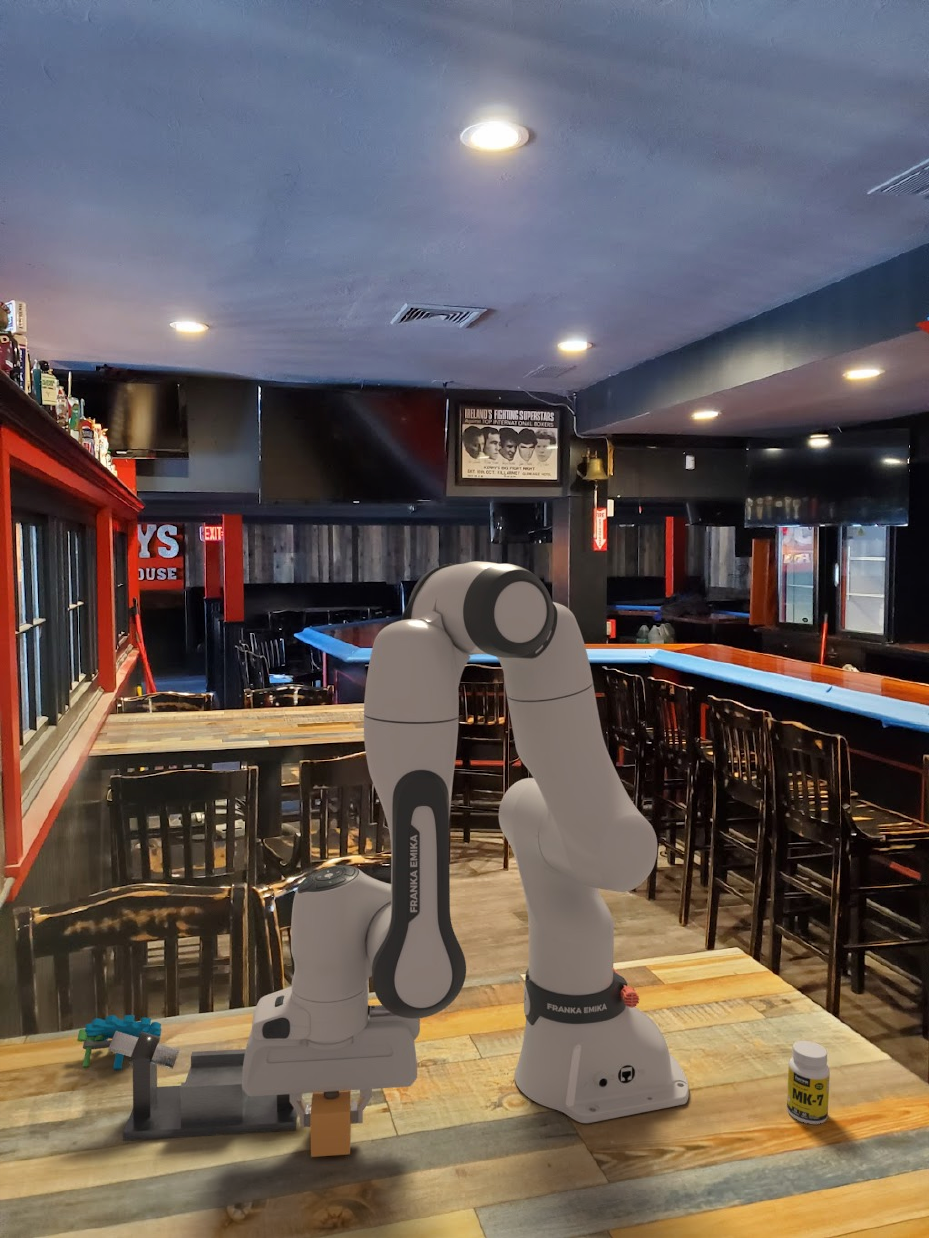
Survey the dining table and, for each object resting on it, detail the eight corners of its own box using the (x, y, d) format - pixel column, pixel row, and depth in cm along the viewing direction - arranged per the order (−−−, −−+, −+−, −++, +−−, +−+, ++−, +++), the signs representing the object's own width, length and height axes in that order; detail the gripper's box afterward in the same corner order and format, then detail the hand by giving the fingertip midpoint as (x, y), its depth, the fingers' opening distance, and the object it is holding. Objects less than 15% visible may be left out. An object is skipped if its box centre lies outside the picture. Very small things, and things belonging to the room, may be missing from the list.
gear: (173, 1029, 126) (147, 1006, 119) (167, 1074, 122) (139, 1053, 115) (97, 1038, 127) (66, 1015, 119) (88, 1083, 123) (55, 1062, 115)
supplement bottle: (786, 1120, 110) (789, 1054, 109) (786, 1099, 114) (789, 1035, 113) (828, 1129, 108) (831, 1062, 107) (827, 1107, 112) (829, 1042, 112)
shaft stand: (320, 1085, 116) (320, 1004, 115) (317, 1128, 107) (317, 1041, 106) (119, 1096, 113) (118, 1013, 112) (99, 1141, 104) (97, 1052, 103)
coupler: (314, 1118, 108) (314, 1072, 107) (351, 1115, 108) (350, 1069, 108) (310, 1156, 101) (310, 1107, 100) (350, 1153, 101) (349, 1104, 101)
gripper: (418, 990, 108) (418, 1100, 109) (245, 999, 106) (247, 1111, 106) (421, 1017, 101) (421, 1133, 102) (238, 1026, 99) (240, 1145, 100)
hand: (331, 1122), depth 104 cm, fingers closed on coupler, 4 cm apart
